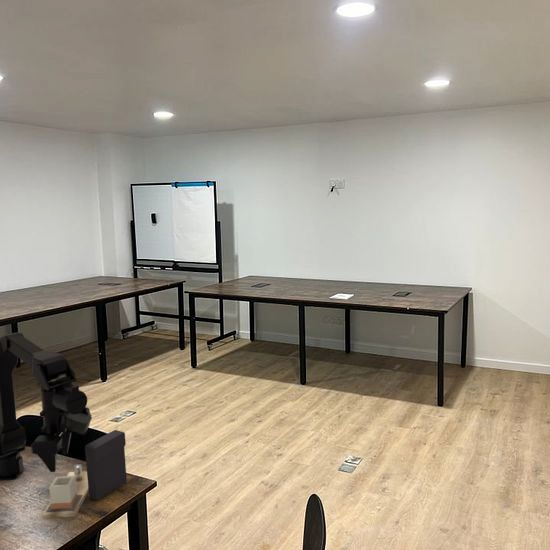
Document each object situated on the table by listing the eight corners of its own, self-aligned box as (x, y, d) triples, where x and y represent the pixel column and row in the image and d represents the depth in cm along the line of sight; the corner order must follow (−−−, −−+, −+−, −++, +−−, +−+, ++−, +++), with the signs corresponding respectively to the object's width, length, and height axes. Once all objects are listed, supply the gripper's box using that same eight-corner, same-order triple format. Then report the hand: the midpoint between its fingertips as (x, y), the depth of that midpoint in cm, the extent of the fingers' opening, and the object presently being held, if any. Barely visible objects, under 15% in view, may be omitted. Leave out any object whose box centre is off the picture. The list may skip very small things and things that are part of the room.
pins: (59, 506, 138) (58, 491, 138) (76, 477, 152) (74, 464, 152) (67, 505, 138) (66, 491, 138) (83, 477, 152) (82, 464, 152)
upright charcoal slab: (117, 478, 153) (113, 428, 151) (128, 482, 151) (125, 431, 149) (86, 498, 143) (82, 445, 141) (98, 502, 141) (94, 448, 139)
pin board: (42, 518, 135) (42, 514, 135) (69, 475, 156) (69, 471, 155) (75, 516, 135) (75, 512, 135) (97, 473, 156) (97, 469, 156)
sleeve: (51, 509, 137) (49, 487, 136) (57, 498, 142) (55, 476, 141) (71, 507, 137) (69, 485, 136) (77, 497, 142) (75, 475, 141)
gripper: (75, 418, 128) (80, 480, 130) (96, 390, 146) (100, 444, 149) (27, 420, 127) (33, 482, 130) (54, 391, 146) (59, 446, 148)
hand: (59, 462), depth 139 cm, fingers open, 9 cm apart
